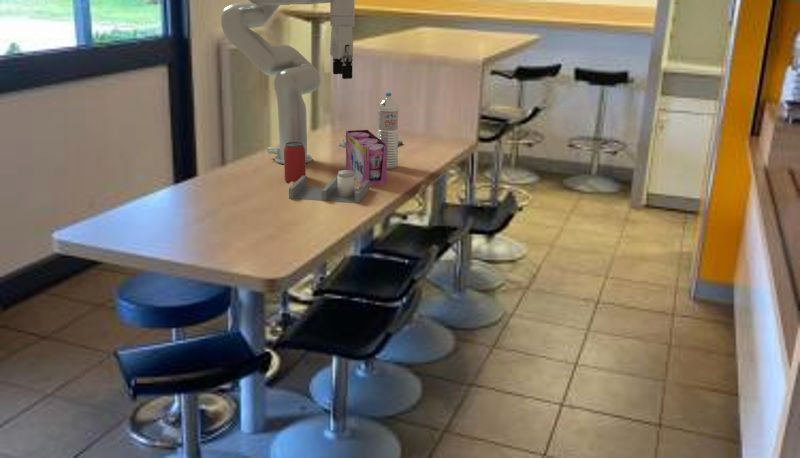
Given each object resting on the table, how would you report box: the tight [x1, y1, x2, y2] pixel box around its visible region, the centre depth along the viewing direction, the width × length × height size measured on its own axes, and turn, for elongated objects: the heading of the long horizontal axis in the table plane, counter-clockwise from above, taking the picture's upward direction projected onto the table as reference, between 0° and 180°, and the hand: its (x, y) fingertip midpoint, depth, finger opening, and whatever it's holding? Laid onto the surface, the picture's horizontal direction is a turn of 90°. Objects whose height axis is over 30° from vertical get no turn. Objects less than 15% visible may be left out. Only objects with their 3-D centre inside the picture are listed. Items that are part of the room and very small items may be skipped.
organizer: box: [288, 175, 370, 204], centre depth 239 cm, size 21×14×4 cm
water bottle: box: [377, 92, 400, 170], centre depth 269 cm, size 7×7×25 cm
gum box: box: [345, 129, 388, 187], centre depth 256 cm, size 24×8×14 cm, turn 18°
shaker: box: [336, 169, 356, 198], centre depth 237 cm, size 5×5×7 cm
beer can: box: [283, 142, 307, 184], centre depth 253 cm, size 7×7×12 cm
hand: (342, 76), depth 259 cm, fingers open, 9 cm apart
